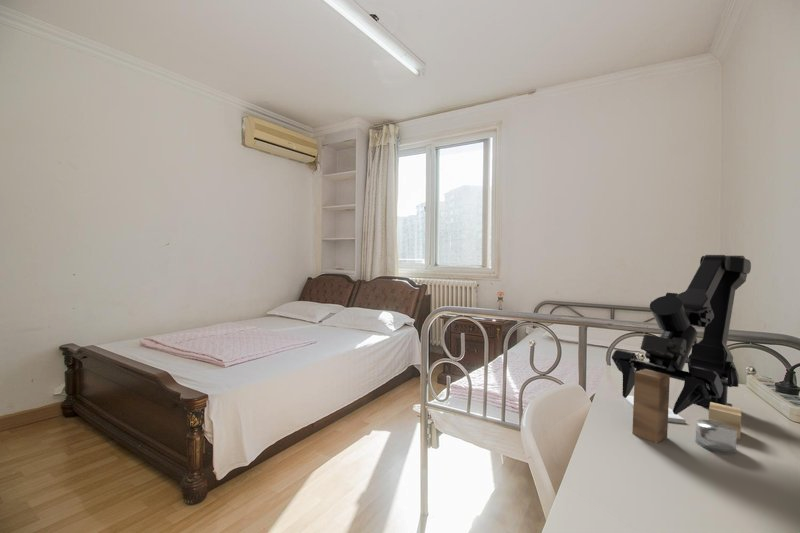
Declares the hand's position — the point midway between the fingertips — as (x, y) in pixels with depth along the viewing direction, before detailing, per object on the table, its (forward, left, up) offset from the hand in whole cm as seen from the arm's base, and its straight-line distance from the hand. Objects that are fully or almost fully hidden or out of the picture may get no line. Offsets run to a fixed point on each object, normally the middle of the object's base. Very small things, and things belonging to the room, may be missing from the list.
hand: (647, 404), depth 72 cm
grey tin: (-8, +8, -7) cm, 14 cm away
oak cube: (-18, +7, -7) cm, 21 cm away
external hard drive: (-16, -6, -8) cm, 19 cm away
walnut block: (-1, 0, -7) cm, 7 cm away
